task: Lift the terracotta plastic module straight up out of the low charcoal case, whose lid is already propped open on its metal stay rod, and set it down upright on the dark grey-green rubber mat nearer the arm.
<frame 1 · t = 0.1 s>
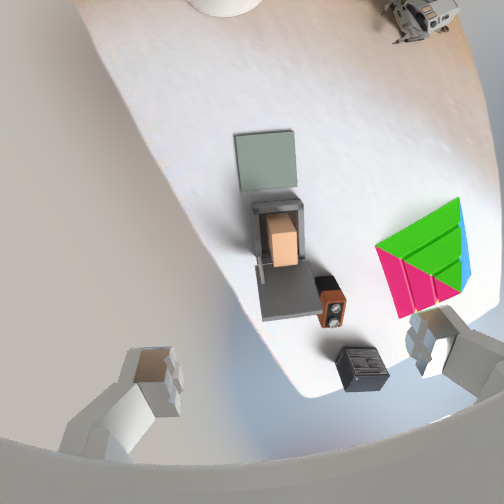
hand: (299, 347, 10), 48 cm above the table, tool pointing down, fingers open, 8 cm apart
rubber mat: (267, 161, 54), on the table
figurine: (395, 22, 43), on the table
pyramid toy: (428, 259, 67), on the table
battery: (322, 288, 67), on the table
module: (277, 228, 60), resting in equipment case
equipment case: (277, 228, 60), on the table
small box: (355, 355, 78), on the table
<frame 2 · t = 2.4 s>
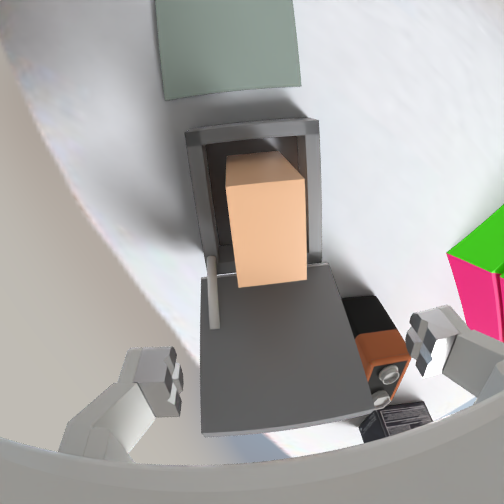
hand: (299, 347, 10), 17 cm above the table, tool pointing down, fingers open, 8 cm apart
rubber mat: (226, 29, 19), on the table
battery: (351, 320, 32), on the table
module: (256, 189, 25), resting in equipment case
equipment case: (256, 190, 25), on the table
small box: (391, 414, 43), on the table
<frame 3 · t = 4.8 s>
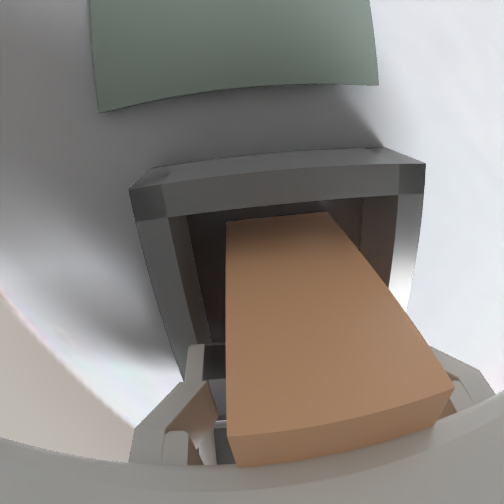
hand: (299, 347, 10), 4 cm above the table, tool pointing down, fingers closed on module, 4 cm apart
module: (281, 281, 14), resting in equipment case, touching gripper
equipment case: (281, 282, 14), on the table
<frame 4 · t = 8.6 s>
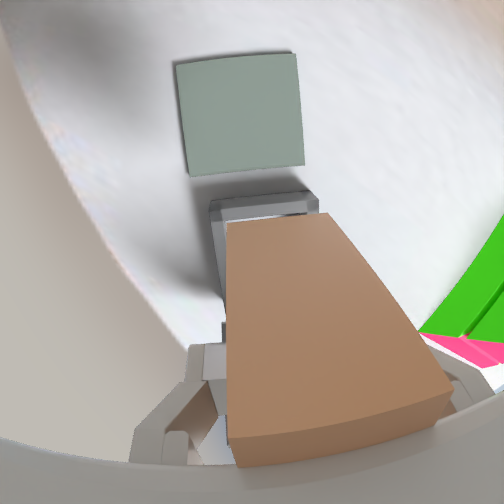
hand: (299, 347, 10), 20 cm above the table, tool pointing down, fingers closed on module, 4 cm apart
rubber mat: (241, 113, 25), on the table
pyramid toy: (500, 292, 37), on the table
module: (281, 282, 14), point 16 cm above the table, touching gripper
equipment case: (265, 250, 31), on the table
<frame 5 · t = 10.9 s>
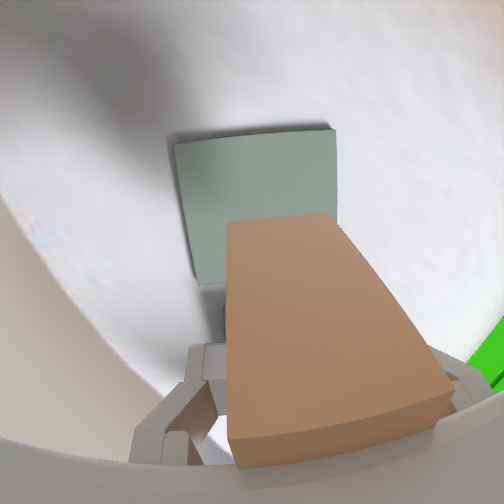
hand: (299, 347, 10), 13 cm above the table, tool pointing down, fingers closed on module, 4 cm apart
rubber mat: (261, 208, 21), on the table
module: (281, 282, 14), point 8 cm above the table, touching gripper
when the fingers open (6 cm above the table, at t = 12.8 s): module drops 1 cm, resting on rubber mat.
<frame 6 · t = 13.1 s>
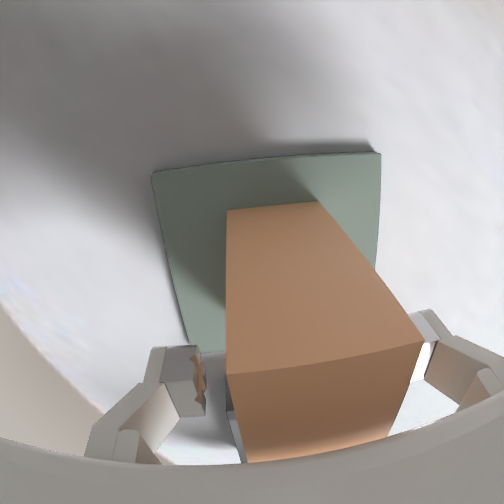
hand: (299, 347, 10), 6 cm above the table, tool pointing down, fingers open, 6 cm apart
rubber mat: (275, 260, 15), on the table
module: (277, 266, 15), point 1 cm above the table, touching rubber mat
equipment case: (297, 412, 21), on the table
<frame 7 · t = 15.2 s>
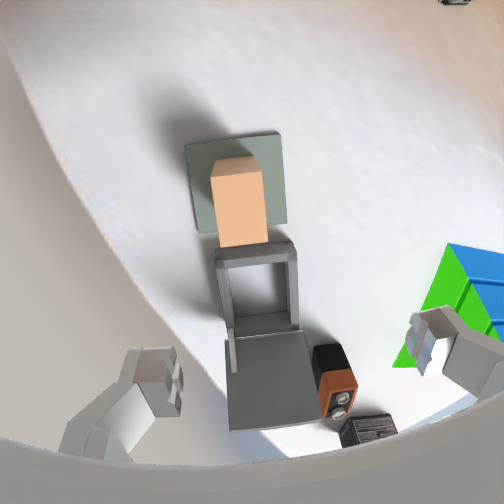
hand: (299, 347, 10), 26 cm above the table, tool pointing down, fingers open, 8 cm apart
rubber mat: (237, 183, 34), on the table
pyramid toy: (465, 310, 46), on the table
battery: (324, 358, 47), on the table
module: (237, 184, 34), point 1 cm above the table, touching rubber mat
equipment case: (258, 285, 40), on the table
small box: (363, 423, 57), on the table
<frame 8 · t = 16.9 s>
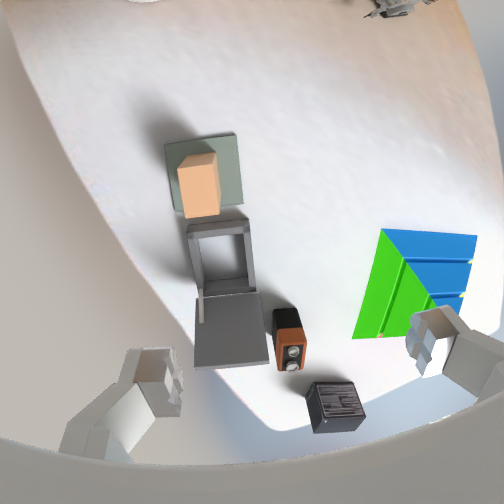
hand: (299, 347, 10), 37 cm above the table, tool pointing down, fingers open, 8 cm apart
rubber mat: (204, 173, 44), on the table
pyramid toy: (416, 285, 57), on the table
battery: (284, 321, 57), on the table
module: (204, 174, 43), point 1 cm above the table, touching rubber mat
equipment case: (223, 254, 50), on the table
small box: (329, 390, 67), on the table
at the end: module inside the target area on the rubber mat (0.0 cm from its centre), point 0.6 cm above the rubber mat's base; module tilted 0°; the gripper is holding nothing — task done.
